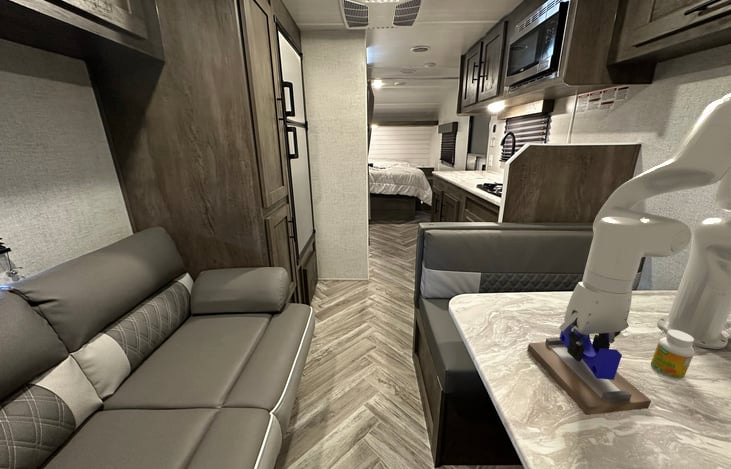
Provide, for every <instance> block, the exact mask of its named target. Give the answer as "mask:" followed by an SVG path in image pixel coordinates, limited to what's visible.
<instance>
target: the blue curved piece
mask: <svg viewBox="0 0 731 469" xmlns="http://www.w3.org/2000/svg"><path fill="white" fill-rule="evenodd" d="M580 334H581V333H579V332H577V334H576V335H577V336H578V337H579V336H580ZM590 336H591V335H590V334H589V335H588V336H587V338H586V340H585V341H584V343H583V345H584V346H585V349H584V353H583V356H582V360H583V361H584V362H585V364H586V365H587V366H588V367H589V369H590V370H591V371H592V373H593V374H594V375H595V377H596V378H598V379H609V380H614V378H615V375H616V372H617V373H618V368H619V366H620V362H621V359H622V357H623V354H622V353H621V352H620V351H619V350H618V349H614V348H613V349H612V348H609V349H603V348H600V349H599V351H598V353H597V352H596V350H595V349H594V347H593V345H592V343H593V342H592V341H591V337H590ZM559 337H560V340H561V341H562V342H563V344H564V345H565V346H566V348H567V349H568V346H569V342H570V338H569V337H568V336H567V335H566V334H565V333H564V332H563V331H561V330H560V334H559Z"/></svg>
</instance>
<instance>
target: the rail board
mask: <svg viewBox="0 0 731 469" xmlns="http://www.w3.org/2000/svg"><path fill="white" fill-rule="evenodd" d="M527 351H528V352H529V353H530V355H531V356H532V357H533V358H534V359H535V361H536V362H538V363H539V365H540V366H541V367H542V368H543V369H544V370H545V371H546V372H547V373H548V374H549V375H550V377H551V378H552V379H553V380H554V381H555V382H556V384H557V385H558V386H559V387H560V388H561V389H562V390H563V391H564V392H565V394H567V395H568V397H569V398H570V399H571V400H572V401H573V402H574V403H575V404H576V406H577V407H578V408H579V409H580V410H581V411H582V412H583V413H584V414H585V415H586V416H590V415H591V416H593V415H600V414H609V413H616V412H617V413H619V412H628V411H629V412H630V411H638V410H646V409H649V407H650V405H651V402H652V400H651V399H650V398H649V397H647V396H646V395H645V394H644V393H643V392H642V391H640V390H639V389H638V388H637V387H636V386H634V385H633V384H632V383H631V382H629V381H628V380H627V379H626V378H625V377H624V376H622V375H621V374H620V373H618V371H617V372H616V375H615V378H614V380H609V379H598V378H596V377H595V375H594V374H593V373H592V371H591V370H590V369H589V367H588V366H587V365H586V364H585V362H584V361H583V360H581V361H576V360H575V359H574V358H573V357H572V356H571V355H570V354H569V353H568V352H567V348H566V346H565V345H564V344H563V342H562V341H561V340H560V336H559V337H548V338H546V339H545V341H541V342H529V343H528V346H527Z"/></svg>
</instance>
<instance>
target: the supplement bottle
mask: <svg viewBox="0 0 731 469" xmlns="http://www.w3.org/2000/svg"><path fill="white" fill-rule="evenodd" d="M693 342H694V338H693V337H692V336H690V335H688V334H686V333H684V332H681V331H678V330H668V332H667V333H665V336H664V337H662V338H660V339H659V341H658V343H657V346H656V348H655V351H654V354H653V355H652V358H651V361H650V367H651V368H652V370H653V371H654V372H655V373H657V374H658V375H660V376H663V377H664V378H667V379H670V380H675V381H681V380H684V378H685V377H686V374H687V371H688V369H689V367H690V364H691V362H692V360H693V357H694V355H695V350H694V348H693V346H694V345H693Z"/></svg>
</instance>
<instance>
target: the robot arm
mask: <svg viewBox="0 0 731 469" xmlns="http://www.w3.org/2000/svg"><path fill="white" fill-rule="evenodd" d="M719 181H720V182H719ZM718 182H719V184H718V187H717V190H716V194H715V198H714V203H715V204H714V205H715V206H716V208H718V209H719V210H722V211H724V212H728V213H731V92H730V93H728V94H726V95H723V97H722V98H719V99H717V100H714V101H713V102H712V103H710V104H708V105H707V106H706V107H705V108H704V109H703V110H702V111H701V112H700V114H699V115H698V117H697V118H696V119H695V121H694V122H693V123H692V125H691V126H690V127H689V129H688V130H687V131H686V133H685V134H684V136H683V137H682V138H681V140H680V141H679V142H678V143H677V145H676V146H675V147H674V149H673V150H672V152H671V154H670V155H669V156H668V158H667V159H666V160H665V161H664V162H663V163H661V164H659V165H657V166H655V167H654V166H653V167H652V168H650V169H648V170H646V171H643V172H642V173H640V174H638V175H636V176H634V177H633V178H631V179H629V180H628V181H625V182H624V183H623V184H621V185H620V186H618V187H617V188H616V189H615V190H614V191H613V192H612V193H611V194H610V196H609V197H608V199H607V200H606V201H605V203H604V204H603V205H602V207H601V208H600V210H599V211H598V213H597V214H596V216H595V219H594V221H593V223H592V231H593V237H592V241H591V244H590V248H589V249H590V250H589V253H588V256H587V261H586V264H585V268H584V273H583V277H582V281H578V282H577V284H576V286H575V288H574V289H573V292H572V294H571V296H570V299H569V301H568V304H567V307H566V311H565V315H564V319H563V320H564V321H563V323H562V324H561V325H559V330H560V332H561V331H563V332H564V333H565V334H566V335H567V336H568V337H569V338H570V342H569V346H568V349H567V352H568V353H569V354H570V355H571V356H572V357H573V358H574V359H575V360H576V361H581V360H582V356H583V353H584V349H585V346H584V345H583V343H584V341H585V340H586V338H587V336H588V335H589V336H590V335H594V337H593V340H592V342H591V343H592V345H593V347H594V349H595V350H596V352H597V353H598V351H599V349H600V348H603V349H610V347H611V344H613V343H614V342H615V338H617V337H618V336H619V335H620V334H621V332H623V331H625V330H626V329H628V328H629V326H630V324H629V323H628V318H629V315H630V311H631V305H632V299H633V298H632V296H633V287H634V286H633V285H634V283H635V280H636V277H637V275H638V271H639V268H640V265H641V262H642V261H641V260H642V258H667V257H672V256H675V255H677V254H679V253H681V252H682V251H684V250H685V249H686V248H687V247H688V245H689V244H690V242H691V246H690V252H689V257H688V262H687V264H686V267H685V270H684V272H683V276H682V278H681V280H680V284H679V285H678V289H677V291H676V293H675V295H674V296H675V297H674V300H673V302H672V305H671V308H670V310H669V313H668V315H664V316H660V317H658V319H657V326H658V327H659V328H660V330H662V331H663V332H664V333H665V334H667V332H668V330H678V331H681V332H684V333H686V334H688V335H690V336H692V337H693V338H694V342H693V345H692V346H695V347H699V348H700V347H701V348H706V349H713V350H718V349H719V350H720V349H724V348H726V347H727V345H728V343H729V341H728V339H727V338H726V336H725V335H724V334H723V331H724V330H727V329H728V330H729V329H730V330H731V320H728V318H729V316H730V314H731V217H729V216H728V217H725V216H717V217H715V216H714V217H707V218H705V219H703V220H701V221H700V222H698V224H696V225H695V227H694V229H693V232H691V229H690V227H689V226H688V225H687V224H686V223H685V222H683V221H681V220H678V219H677V218H676V219H675V218H672V217H667V216H663V215H659V214H652V213H649V212H643V211H637V210H632V209H633V208H634V207H636V205H638V204H639V203H641V202H643V201H645V200H647V199H650V198H652V197H653V198H654V197H655V196H656V197H657V196H660V195H663V194H668V193H675V192H680V191H686V190H691V189H697V188H702V187H707V186H711V185H714V184H715V183H718ZM577 332H579V333H581V334H580V336H579V337H578V336H577V335H576V334H577Z"/></svg>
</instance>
